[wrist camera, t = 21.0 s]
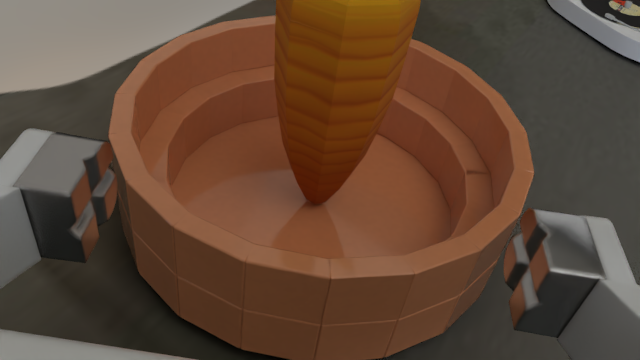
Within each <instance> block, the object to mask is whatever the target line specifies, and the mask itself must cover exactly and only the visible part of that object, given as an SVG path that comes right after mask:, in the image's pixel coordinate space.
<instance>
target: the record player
mask: <svg viewBox="0 0 640 360" xmlns="http://www.w3.org/2000/svg"><path fill="white" fill-rule="evenodd" d="M547 1H548V3H549V5H550V6H551V7H552V8H553V9H554V10H555V11H556V12H558V13H559V14H560V15H562V16H563V17H564V18H566V19H567V20H569V21H570V22H571V23H573V24H574V25H576V26H577V27H579V28H580V29H582V30H583V31H585V32H586V33H587V34H589V35H590V36H592V37H593V38H595V39H596V40H598V41H599V42H601V43H602V44H604V45H606V46H607V47H609V48H610V49H612V50H614V51H615V52H617V53H619V54H621V55H623V56H625V57H628V58H630V59H632V60H635V61H637V62H640V0H547Z"/></svg>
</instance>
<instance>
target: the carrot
mask: <svg viewBox="0 0 640 360" xmlns="http://www.w3.org/2000/svg"><path fill="white" fill-rule="evenodd" d="M420 1H421V0H276V21H275V59H274V82H275V92H276V101H277V110H278V117H279V123H280V129H281V136H282V142H283V145H284V148H285V151H286V154H287V157H288V160H289V163H290V166H291V168H292V171H293V174H294V176H295V179H296V181H297V184H298V185H299V187H300V189H301V191H302V193H303V195H304V196H305V198H306V200H308V201H310V202H312V203H314V204H319V203H324V202H326V201H327V200H328V199H329V198H330V197H331V196H333V195H334V194H335V193H336V192H337V191H338V190H339V189H340V188H341V186H342V185H343V184H344V183H345V181H346V180H347V179H348V178H349V176H350V175H351V174H352V172H353V171H354V170H355V168H356V167H357V166H358V164H359V163H360V162H361V160H362V159H363V158H364V156H365V155H366V153H367V151H368V149H369V147H370V145H371V143H372V141H373V139H374V137H375V136H376V134H377V132H378V130H379V128H380V125H381V123H382V121H383V119H384V117H385V115H386V112H387V110H388V108H389V106H390V104H391V101H392V99H393V96H394V93H395V90H396V87H397V84H398V80H399V77H400V74H401V71H402V68H403V65H404V61H405V58H406V55H407V51H408V48H409V44H410V41H411V37H412V33H413V30H414V26H415V23H416V19H417V16H418V12H419V8H420Z"/></svg>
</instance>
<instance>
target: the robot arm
mask: <svg viewBox="0 0 640 360" xmlns="http://www.w3.org/2000/svg"><path fill="white" fill-rule="evenodd" d="M113 158H114V157H113V152H112V147H111V144H110V143H108V142H107V141H103V140H98V139H92V138H87V137H81V136H76V135H70V134H65V133H59V132H56V133H55V132H51V131H45V130H40V129H34V128H30V129H27V130H25V131H23V132H22V134H21V135H20V136H19V137H18V138H17V140H16V141H15V142H14V143H13V145H12V146H11V147H10V148H9V150H8V151H7V152H6V153H5V154H4V156H3V157H2V158H1V159H0V289H1V288H2V287H4V286H5V285H7V284H8V283H9V282H11V281H12V280H14V279H15V278H16V277H18V276H19V275H21V274H22V273H23V272H25V271H26V270H28V269H29V268H30V267H32V266H33V265H35V264H36V263H37V262H39V261H40V260H41V257H43V258H50V259H58V260H66V261H74V262H81V263H86V262H87V260H88V258H89V256H90V254H91V252H92V250H93V248H94V247H95V245H96V243H97V241H98V239H99V233H98V226H100V225H101V224H103V223H105V222H107V221H108V220H109V218H110V216H111V214H112V212H113V210H114V206H115V202H116V198H117V185H118V184H117V177H116V174H115V173H114V172H113V171H112V170H111V169H110V168H109V165H110V163H111V161H112V160H113ZM520 225H521V230H522V232H520V233H518V234H516V235H515V236H513V237H512V238H511V240H510V242H509V244H508V246H507V249H506V253H505V258H504V276H505V283H506V284H507V285H508V286H509V287H510V288H511V289H512V291H513V292H514V293H513V295H512V296H511V298H510V300H509V305H510V311H511V316H512V321H513V327H514V330H517V331H523V332H528V333H534V334H539V335H545V336H550V337H556V338H558V339H557V341H558V342H559V343H560V345H561V346H562V347H563V349H564V350H565V351H566V353H567V354H568V355H569V357H570V358H571V359H572V360H640V285H637V284H636V281H635V279H634V276H633V274H632V271H631V269H630V266H629V264H628V261H627V259H626V256H625V254H624V251H623V249H622V246H621V244H620V241H619V239H618V236H617V234H616V231H615V229H614V226H613V224H612V222H611V221H610V220H608V219H607V218H599V217H592V216H585V215H575V214H569V213H562V212H555V211H549V210H542V209H535V208H529V209H528V210H527V211H525V212H524V214H523V216H522V218H521V220H520ZM0 360H197V359H190V358H184V357H177V356H171V355H165V354H158V353H152V352H145V351H139V350H132V349H126V348H119V347H113V346H106V345H100V344H94V343H87V342H81V341H74V340H68V339H61V338H55V337H48V336H42V335H36V334H29V333H23V332H16V331H10V330H3V329H0Z"/></svg>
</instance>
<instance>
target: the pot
mask: <svg viewBox="0 0 640 360" xmlns="http://www.w3.org/2000/svg"><path fill="white" fill-rule="evenodd" d="M275 21H276V15H275V16H266V17H258V18H250V19H241V20H233V21H226V22H221V23H218V24H215V25H211V26H208V27H205V28H202V29H199V30H196V31H193V32H190V33H186V34H183V35H180V36H179V37H177V38H175V39H173V40H172V41H170V42H169V43H167V44H165V45H164V46H162V47H161V48H159V49H157V50H156V51H154V52H153V53H151V54H149V55H148V56H146V57H145V58H143V59H142V60H141V61H140V62H139V63H138V64H137V66H136V67H135V68H134V70H133V71H132V72H131V73H130V75H129V76H128V77H127V79H126V80H125V81H124V83H123V84H122V85H121V86H120V88H119V89H118V90H117V92H116V94H115V96H114V102H113V108H112V114H111V120H110V126H109V132H108V139H109V143H110V144H111V147H112V152H113V157H114V158H113V160H112V164H113V171H114V173H115V174H116V177H117V184H118V185H117V196H118V202H119V208H120V215H121V221H122V227H123V230H124V233H125V236H126V239H127V241H128V244H129V247H130V250H131V253H132V256H133V258H134V261H135V264H136V267H137V270H138V271H139V274H140V275H141V276H142V277H143V278H144V279H145V280H146V281H147V282H148V283H149V285H150V286H151V287H152V288H153V289H154V290H155V291H156V292H157V293H158V294H159V295H160V297H161V298H162V299H163V300H164V301H165V302H166V303H167V304H168V305H169V306H170V307H171V309H172V310H173V311H174V312H175V313H176V314H177V315H178V316H180V317H181V318H183V319H185V320H187V321H188V322H190V323H192V324H194V325H196V326H198V327H200V328H201V329H203V330H205V331H207V332H209V333H211V334H213V335H214V336H216V337H218V338H220V339H222V340H224V341H226V342H227V343H229V344H231V345H233V346H235V347H237V348H241V349H242V350H246V351H250V352H255V353H260V354H265V355H270V356H275V357H280V358H285V359H290V360H368V359H380V358H383V357H388V356H390V355H392V354H395V353H397V352H399V351H402V350H404V349H407V348H409V347H411V346H414V345H416V344H418V343H421V342H423V341H425V340H428V339H430V338H433V337H435V336H437V335H440V334H441V333H443V332H444V331H446V330H447V329H448V328H449V327H450V326H451V325H452V324H453V323H454V322H455V321H456V320H457V319H458V318H459V317H460V316H461V315H462V314H463V313H464V312H465V311H466V310H467V309H468V308H469V307H470V306H471V305H472V304H473V303H474V302H475V301H476V300H477V299H478V298H479V296H480V295H481V293H482V291H483V289H484V287H485V285H486V283H487V281H488V279H489V277H490V275H491V273H492V271H493V269H494V267H495V265H496V263H497V261H498V259H499V256H500V255H501V253H502V251H503V249H504V247H505V245H506V243H507V241H508V239H509V237H510V235H511V233H512V231H513V229H514V227H515V225H516V223H517V221H518V219H519V217H520V215H521V212H522V209H523V206H524V204H525V201H526V198H527V195H528V192H529V189H530V186H531V183H532V180H533V177H534V168H533V163H532V158H531V152H530V147H529V142H528V137H527V133H526V130H525V129H524V128H523V126H522V125H521V123H520V122H519V120H518V119H517V117H516V116H515V114H514V113H513V111H512V110H511V108H510V107H509V105H508V104H507V102H506V101H505V99H504V98H503V97H502V96H501V95H500V94H499V93H498V92H497V91H495V90H494V89H493V88H492V87H491V86H490V85H488V84H487V83H486V82H485V81H484V80H482V79H481V78H480V77H479V76H478V75H476V74H475V73H474V72H473V71H472V70H471V69H469V68H468V67H466V66H465V65H463V64H461V63H460V62H458V61H456V60H454V59H452V58H450V57H448V56H447V55H445V54H443V53H441V52H439V51H437V50H435V49H434V48H432V47H430V46H428V45H426V44H424V43H422V42H419V41H416V40H413V39H411V41H410V44H409V48H408V51H407V55H406V58H405V61H404V65H403V68H402V71H401V74H400V77H399V80H398V84H397V87H396V90H395V93H394V96H393V99H392V101H391V104H390V106H389V108H388V110H387V112H386V115H385V117H384V119H383V121H382V123H381V125H380V128H379V130H378V132H377V134H376V136H375V137H374V139H373V141H372V143H371V145H370V147H369V149H368V151H367V153H366V155H365V156H364V158H363V159H362V160H361V162H360V163H359V164H358V166H357V167H356V168H355V170H354V171H353V172H352V174H351V175H350V176H349V178H348V179H347V180H346V181H345V183H344V184H343V185H342V186H341V188H340V189H339V190H338V191H337V192H336V193H335V194H334V195H333V196H331V197H330V198H329V199H328V200H327V201H326V202H324V203H319V204H314V203H312V202H310V201H308V200H306V198H305V196H304V195H303V193H302V191H301V189H300V187H299V185H298V184H297V181H296V179H295V176H294V174H293V171H292V168H291V166H290V163H289V160H288V157H287V154H286V151H285V148H284V145H283V142H282V136H281V129H280V123H279V117H278V110H277V101H276V92H275V82H274V59H275Z"/></svg>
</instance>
